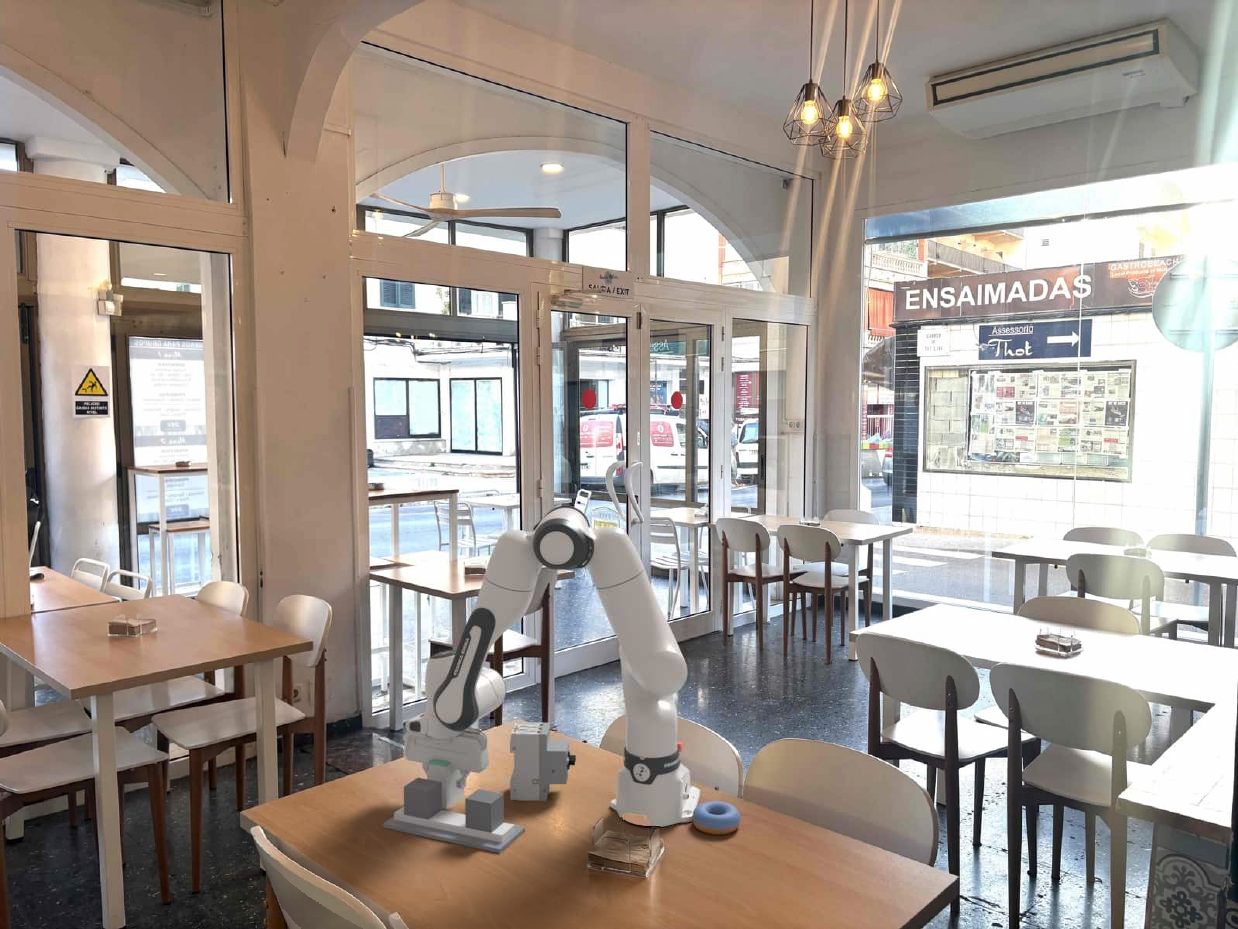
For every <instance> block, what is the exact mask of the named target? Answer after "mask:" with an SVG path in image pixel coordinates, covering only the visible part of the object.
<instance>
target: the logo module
mask: <svg viewBox="0 0 1238 929" xmlns="http://www.w3.org/2000/svg"><path fill="white" fill-rule="evenodd" d="M461 777H462V774H460V770H459V769H453V768H451V767H450V761H444V760H438V759H431V760H430V761H429V780H433V781H439V782H442V810H447V809H449V808H450V807H452V806H453V805H454V804H456V803H457V802H459V801H461V798H462V799H463V798H464V797H465V788H463V789H460V788H456V785H457V784H456V781H457V780H458V779H459V778H461Z"/></svg>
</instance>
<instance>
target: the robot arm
mask: <svg viewBox="0 0 1238 929" xmlns="http://www.w3.org/2000/svg"><path fill="white" fill-rule="evenodd" d="M590 525H591V524H590V521H589V520H588V517H587V516H586V514H584V512H583V511H582V510H580V509H578V508H577V507H575V506H572V505H562V506H561V505H560V506H557V507H555V508H552V509H551V510H550V511H548V512H547V513H546V514H545V515H544V516H543V517H542V518H541V519H540V520H539V521H538V522H537V523H536V524H535V525H534V526H533V528H532V531H525V530H520V529H513V530H508V531H506V532H504V533H502V534H501V535H500V536H499V538H498V539H497V541H496V544H495V545H494V548H493V550H492V552H491V555H490V558H489V560H488V563H487V566H486V569H485V572H484V576H483V580H482V583H481V586H480V590H479V593H478V596H477V597H476V598H477V599H476V602H475V603H474V606H473V608H472V611H471V614H470V616H469V618H468V620H467V622H466V624H465V626H464V630H463V632H462V635H461V637H460V640H459V642H458V645H457V648H456V649H450V650H445V651H440V652H438V653H435V654H433V655H432V656H430V657H429V658H428V660H427V664H426V667H425V679H424V682H425V683H424V688H425V689H424V690H425V691H424V692H425V696H426V707H425V710H424V711H425V712H424V713H421V714H419V715H416V716H414V717H412V718H410V719H409V720H408V721H406V723H405V729H406V732H405V734H404V739H403V740H404V742H403V744H404V745H403V752H404V753H403V754H404V757H405V759H406V760H407V761H408V762H409V761H410V762H415V763H421V764H422V765H421V766H422V770H423V771H424V773H425V775H426V779H428V780H429V761H430V760H431V759H438V760H444V761H450V767H451V768H453V769H459V770H460V774H462V777H461V778H459V779H458V780H457V781H456V784H457V785H456V788H460V789H463V788H464V789H465V788H466V787H467V778H468V777H469V775H470V774H471V773H475V774H476V773H477V774H480V773H482V772H483V771H485V770H486V769H487V767H489V765H490V757H489V750H488V749H489V748H488V736H487V734H486V733H485V732H484V731H482V729H481V728H477V727H475V728H474V727H471V726H472V725H473V724H474V723H476V722H477V721H479V720H480V719H483V717H485V716H487V715H489V714H490V713H491V712H494V711H495V710H496V709H498V708H499V707H501V706H502V704H503V703H504V701H505V699H506V696H507V686H506V682H505V681H504V680H505V679H504V678H503V676H502V675H501V673H499V672H498V671H497V670H495V669H493V668H491V667H485V662H486V660H487V657H488V654H489V652H490V650H491V648H492V646H493V645H494V644H495V642H496V641H498V639H499V638H500V637H501V636H502V635H504V633H505V632H507V630H509V629H511V627H513V626H514V625H515V624H517V623H518V622H519V621H520V620H522V618H523V617H524V616H525V614H526V613H527V611H528V608H529V606H530V605H531V602H532V600H533V597H534V594H535V590H536V587H537V586H536V585H537V583H538V582H537V581H538V577H539V575H540V573H541V570H542V568H543V567H545V568H548V569H549V570H550V569H551V570H555V571H556V570H557V571H564V570H571V569H573V570H574V569H584V568H585V567H586V569H588V572H589V574H590V576H591V578H592V581H593V584H594V586H595V589H596V592H597V593H598V597H599V600H600V602H601V604H602V607H603V609H604V613H605V614H606V618H607V620H608V622H609V624H610V627H611V628H612V630H613V633H614V634H615V636H616V639H617V640H618V643H619V646H618V647H619V657H620V671H621V680H622V681H621V682H622V691H623V692H622V693H623V700H624V706H625V707H624V708H625V746H624V748H623V753H622V754H623V755H622V758H623V767H622V768H620V769H619V770H618V773H617V781H616V782H617V784H616V786H617V787H616V797H614V799H612V800H611V801H610V808H611V809H613V810H614V811H616V812H617V814H618V816H619V818H621V816H622V814H624V813H634V814H643V815H646V816H647V818H648V820H649V822H650V825H653V826H655V825H659V826H660V827H667V826H671V825H674V824H675V825H676V824H678V823H680V824H681V823H689V822H690V823H691V822H693V811H694V809H695V808H696V807H697V806H698V805H699V800H700V796H701V790H700V788H698V787H696V786H693V785H691V771H690V769H688V767H686V766H685V765H683V763H682V762H681V753H682V750H683V742H680V741H678V710H677V706H676V702H675V698H674V697H675V696H674V695H675V694H676V693H678V692H679V691H680V690H681V689H682V688H683V686H684V685H685V683H686V681H687V677H688V666H687V663H686V660H685V658H684V656H683V653H682V651H681V648H680V646H679V644H678V641H677V640H676V638H675V635H674V633H673V631H672V628H671V626H670V625H669V622H668V620H667V618H666V617H665V615H664V613H663V611H662V608H661V607H660V605H659V603H658V601H657V600H658V599H657V598H656V595H655V592H654V589H653V587H652V584H651V582H650V579H649V576H648V574H647V572H646V568H645V566H644V564H643V561H642V559H641V557H640V555H639V552H638V551H637V549H636V546H635V545H634V543H633V542H632V539H631V538H630V537H629V534H627V532H626V530H624V529H623V528H621V527H620V526H613V525H612V526H611V525H609V526H608V525H607V526H604V527H600V528H592V527H591V526H590ZM660 827H659V828H660Z"/></svg>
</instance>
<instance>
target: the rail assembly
mask: <svg viewBox="0 0 1238 929" xmlns="http://www.w3.org/2000/svg"><path fill="white" fill-rule="evenodd" d="M504 796H505V794H504V793H502V792H498V791H497V792H495V791H490V790H486V789H480V788H478V789H476V790H475V791H474V792H473V793H470V795H468V796H467V797H465V799H464V800H465V801H464V802H465V804H464V806H465V809H464V810H465V813H459V812H455V811H450V810H446V809H443V808H442V782H439V781H433V780H428V779H427V778H421V777H417V778H415V779H414V780H412V781H410V782H409V783H407V784H405V785H403V806H402V807H401V808H398V810H396V811H395V812H394V814H393V815H394V816H392V817H391V818H389V819H388V820H386V821H385V822H383V823H382V828H385V829H388V830H392V831H398V832H403V833H405V834H411V835H415V836H420V837H424V838H428V839H429V838H430V839H434V840H438V841H442V842H443V841H444V842H448V843H452V844H457V845H461V846H464V847H471V848H474V849H479V850H484V851H489V852H492V853H497V854H501V853H503V851H505V850H506V849H507V848H508V847H509V846H510V845H511V844H512V843H513V842H515V841H516V840H517V839H518V838H519V837H521V835H522V834H523V833H525V831H526V828H525V827H523V826H520V825H515V824H514V823H507V822H505V804H504V803H505V797H504Z"/></svg>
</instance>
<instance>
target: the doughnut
mask: <svg viewBox="0 0 1238 929" xmlns="http://www.w3.org/2000/svg"><path fill="white" fill-rule="evenodd" d="M692 823H693V824H694V826H695V828H696V829H698V830H699V831H701V832H703V833H706V834H710V835H717V836H718V835H719V836H720V835H727V834H731V833H733V832H734V831H736V830H737V829H738V827H739V826H740V825H741V824H740V823H741V814H740V811H739V810H738V809H737V808H736V806H734V805H733V804H730V803H728V802H726V801H721V800H720V801H719V800H710V801H709V800H708V801H704V802H701V803H700V804H699V803H698V805H697V807H696V808H695V809H694V811H693V821H692Z"/></svg>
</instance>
